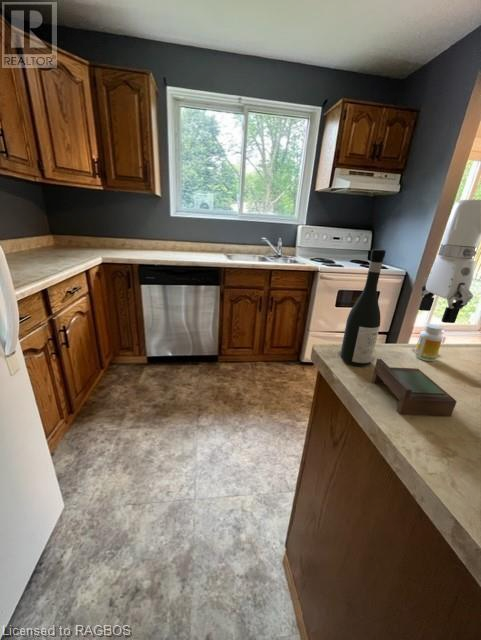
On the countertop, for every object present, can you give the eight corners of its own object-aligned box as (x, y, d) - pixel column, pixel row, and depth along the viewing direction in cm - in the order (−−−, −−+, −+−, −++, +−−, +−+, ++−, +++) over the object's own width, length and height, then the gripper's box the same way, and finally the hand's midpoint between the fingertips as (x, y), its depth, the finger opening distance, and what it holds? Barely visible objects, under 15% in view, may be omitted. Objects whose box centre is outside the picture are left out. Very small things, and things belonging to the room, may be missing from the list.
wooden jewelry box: (412, 386, 64) (420, 360, 62) (448, 422, 53) (460, 392, 50) (370, 385, 64) (377, 358, 61) (397, 420, 53) (407, 389, 50)
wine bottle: (377, 364, 73) (405, 251, 63) (356, 370, 70) (382, 251, 60) (353, 352, 80) (376, 247, 70) (333, 356, 77) (353, 247, 66)
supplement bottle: (439, 360, 78) (450, 328, 74) (427, 363, 76) (437, 331, 72) (422, 352, 82) (431, 322, 79) (409, 354, 80) (418, 323, 77)
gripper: (501, 258, 61) (473, 328, 67) (447, 250, 77) (428, 307, 83) (468, 256, 61) (443, 327, 67) (421, 248, 77) (404, 305, 83)
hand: (435, 316), depth 75 cm, fingers open, 9 cm apart
